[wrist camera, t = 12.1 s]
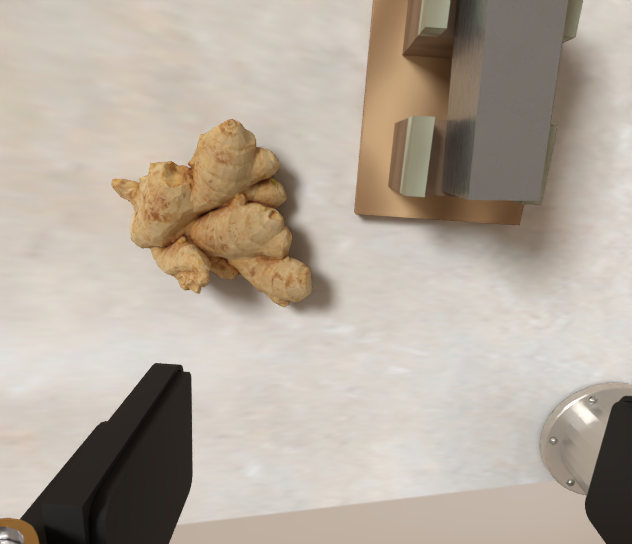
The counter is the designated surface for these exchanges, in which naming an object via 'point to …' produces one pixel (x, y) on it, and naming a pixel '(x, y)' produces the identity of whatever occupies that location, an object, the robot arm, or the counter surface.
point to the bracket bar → (501, 97)
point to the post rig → (420, 116)
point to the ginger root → (218, 217)
